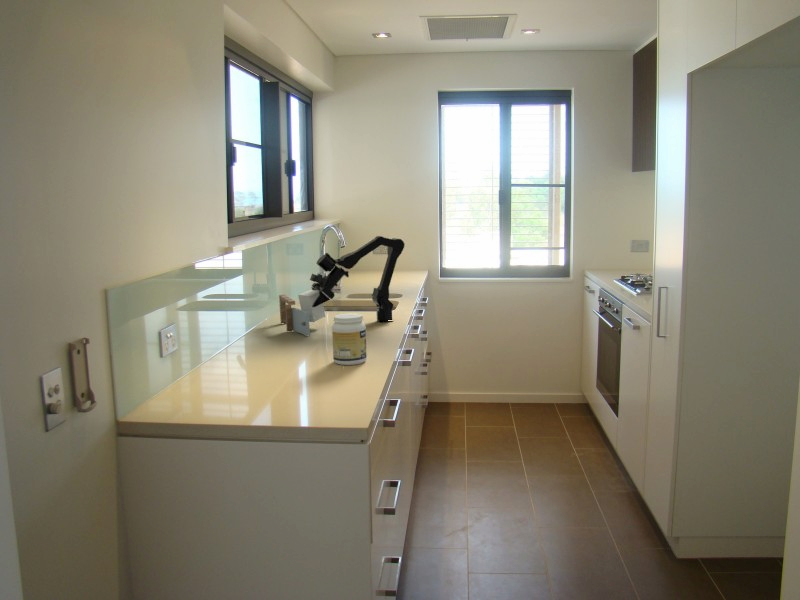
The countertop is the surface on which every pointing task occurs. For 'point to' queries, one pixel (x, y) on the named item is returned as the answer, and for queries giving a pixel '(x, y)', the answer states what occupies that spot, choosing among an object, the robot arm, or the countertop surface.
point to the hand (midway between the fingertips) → (310, 305)
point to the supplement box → (311, 305)
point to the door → (300, 321)
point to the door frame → (286, 311)
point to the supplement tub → (349, 339)
